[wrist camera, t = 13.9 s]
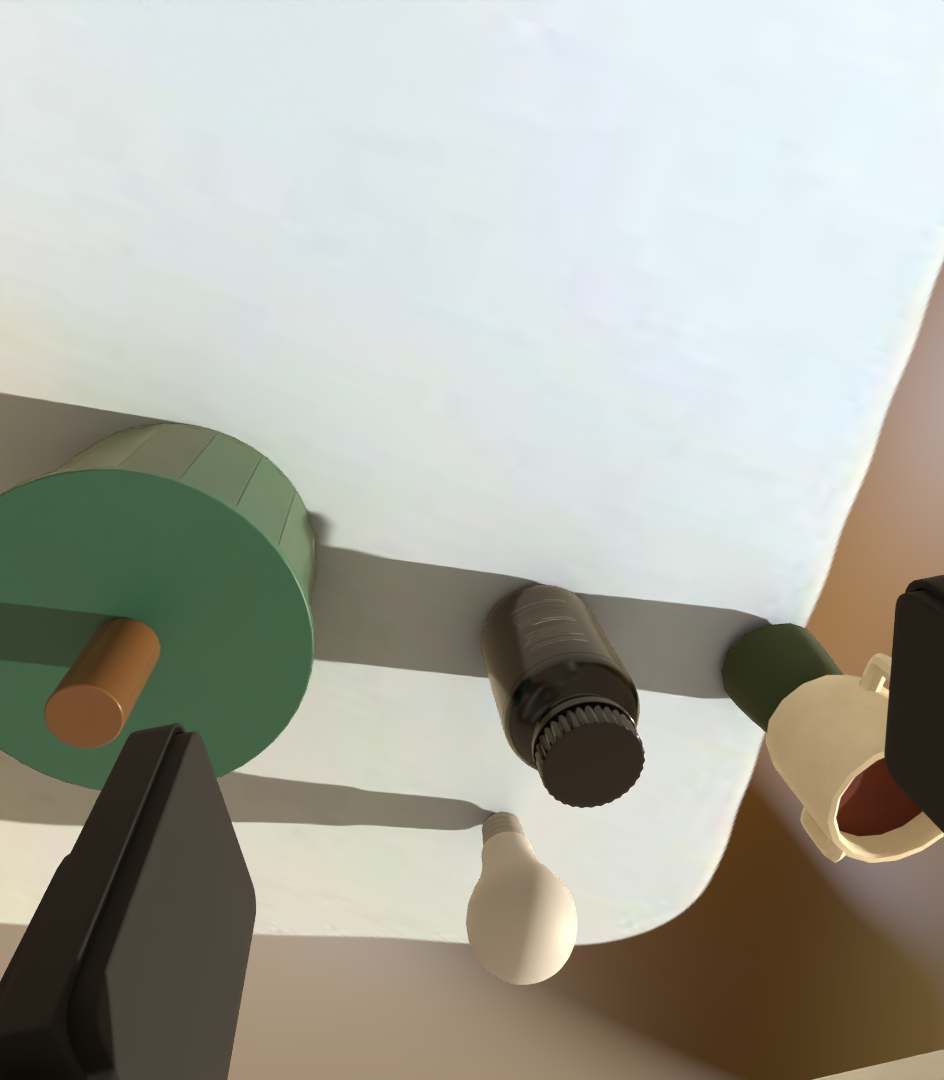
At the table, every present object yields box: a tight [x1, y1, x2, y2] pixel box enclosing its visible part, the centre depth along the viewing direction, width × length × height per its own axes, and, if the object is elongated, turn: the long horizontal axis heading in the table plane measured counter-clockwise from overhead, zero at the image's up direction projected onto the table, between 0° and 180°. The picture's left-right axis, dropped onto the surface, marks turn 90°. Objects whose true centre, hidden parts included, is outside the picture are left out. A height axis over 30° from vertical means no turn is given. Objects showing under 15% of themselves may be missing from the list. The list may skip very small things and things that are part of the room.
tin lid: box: [0, 466, 315, 790], centre depth 29 cm, size 15×15×6 cm
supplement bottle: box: [481, 585, 645, 808], centre depth 39 cm, size 7×7×12 cm
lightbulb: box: [466, 812, 577, 985], centre depth 44 cm, size 6×6×11 cm
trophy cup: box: [722, 623, 944, 863], centre depth 41 cm, size 11×7×13 cm, turn 168°
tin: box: [55, 424, 316, 605], centre depth 35 cm, size 14×14×10 cm
